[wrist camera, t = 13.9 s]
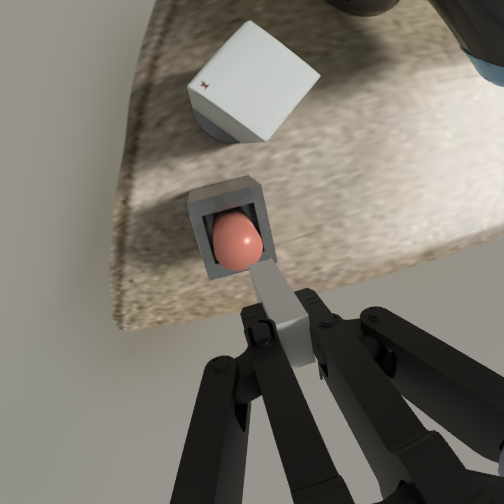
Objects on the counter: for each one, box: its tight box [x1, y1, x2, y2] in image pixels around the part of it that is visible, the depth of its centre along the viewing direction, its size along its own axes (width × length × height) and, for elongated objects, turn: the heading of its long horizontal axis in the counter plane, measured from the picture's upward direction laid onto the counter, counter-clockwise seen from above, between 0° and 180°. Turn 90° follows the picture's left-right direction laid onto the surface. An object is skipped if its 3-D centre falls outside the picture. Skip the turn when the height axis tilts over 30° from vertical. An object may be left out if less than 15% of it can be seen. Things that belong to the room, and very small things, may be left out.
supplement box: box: [187, 20, 320, 143], centre depth 25 cm, size 7×7×13 cm
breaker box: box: [187, 175, 277, 280], centre depth 32 cm, size 8×7×8 cm
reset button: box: [212, 208, 263, 271], centre depth 28 cm, size 4×4×7 cm
